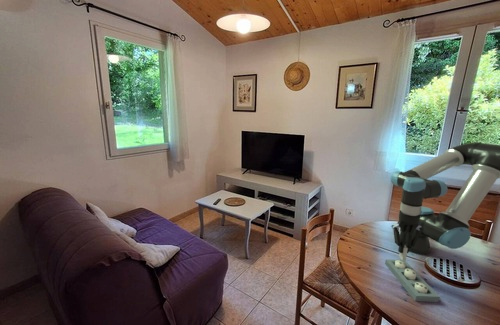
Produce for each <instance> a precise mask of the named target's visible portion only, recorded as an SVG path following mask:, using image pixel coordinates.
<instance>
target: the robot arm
mask: <svg viewBox="0 0 500 325" xmlns="http://www.w3.org/2000/svg"><path fill="white" fill-rule="evenodd" d="M463 165H467V166H468V165H469V166H471V168H472V170H473V171H472V172H471V174H470V175H469V176H468V178H467V179H466V181H465V182H464V184H463V186H462V187H461V188H460V190H459V191H458V193H457V194H456V196H455V197H454V198H453V200H452V202H451V203H450V204H449V206H448V207H447V208H446V209H445V211H441V212H439V214H438V215H436V214H435V211H434V209H432V208H430V207H427V206H423V200H426V199H434V198H439V197H443V196H445V195H446V194H447V192H448V185H447V184H446V183H445V181H442V180H440V179H432V180H431V178H432V177H434V176H437V175H438V174H440V173H442V172H444V171H445V172H446V171H447V170H449V169H451V168H453V167H460V166H463ZM429 178H430V179H429ZM498 179H500V144H493V143H492V144H491V143H484V142H483V143H482V142H467V143H463V144H459V145H456V146H453V147H451V148H449V149H446V150H445V151H444V152H443V153H442V154H440V155H438V156H435V157H433V158H432V159H430V160H428V161H425V162H424V163H422V164H418V165H416V166H414V167H412V168H410V169H408V170H405V171H400V170H397V171H394V172H393V173H392V174H391V176H390V182H391V184H392V185H394V186H396V187H398V188H401V189H402V192H401V194H402V195H401V201H400V207H399V212H398V221H397V223H396V224H395V225H394V224H392V225H391V226H390V227H391V228H392V230H393V231H392V232H393V237H394V238H393V239H394V243H395V244H396V246H398V252H399V253H398V254H399V255H398V258H400V260H405V261H406V260H407V256H408V255H407V254H409V253H412V254H417V255H428V254H430V253H431V252H430V251H431V245H430V244H431V243H430V240H429V239H431V240H433V241H434V242H436V243H439V244H440V245H441V246H444V247H446V248H448V249H452V250H456V249H460V248H462V247H464V246H465V245H466V244H467V243H468V242H469V241H470V239H471V235H472V232H471V231H470V227H471V226H470V224H469V221H470V219H471V218H472V216H473V215H474V213H475V212H476V210H477V209H478V207H479V206H480V205H481V203H482V202H483V200H484V199H485V197H486V196H487V195H488V193H489V192H490V190H491V189H492V187H493V185H494V184H495V183H496V181H497V180H498Z"/></svg>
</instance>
